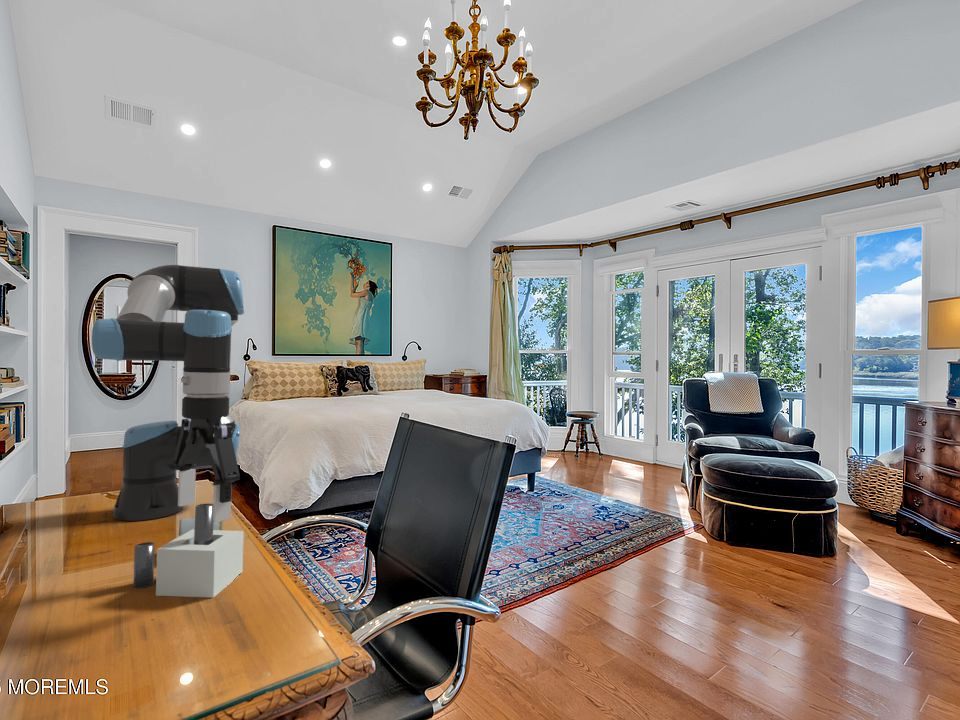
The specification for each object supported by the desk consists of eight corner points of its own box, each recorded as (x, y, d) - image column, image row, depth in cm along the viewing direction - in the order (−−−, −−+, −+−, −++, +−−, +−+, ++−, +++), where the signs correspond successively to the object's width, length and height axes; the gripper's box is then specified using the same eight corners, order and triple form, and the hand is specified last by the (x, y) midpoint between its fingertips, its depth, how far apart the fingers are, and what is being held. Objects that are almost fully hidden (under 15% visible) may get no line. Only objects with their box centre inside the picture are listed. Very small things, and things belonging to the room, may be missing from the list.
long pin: (198, 579, 92) (201, 503, 92) (214, 580, 92) (217, 503, 92) (188, 586, 89) (191, 507, 89) (205, 587, 89) (208, 507, 89)
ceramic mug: (223, 556, 103) (224, 518, 103) (177, 563, 99) (178, 524, 99) (219, 540, 112) (220, 506, 112) (176, 547, 108) (177, 511, 108)
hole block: (191, 571, 95) (192, 529, 95) (242, 572, 95) (243, 531, 95) (155, 595, 85) (157, 549, 85) (213, 597, 85) (214, 550, 85)
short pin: (141, 580, 91) (142, 542, 91) (157, 580, 91) (158, 542, 91) (129, 587, 88) (130, 548, 88) (145, 588, 88) (147, 548, 88)
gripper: (154, 391, 95) (151, 503, 95) (219, 401, 80) (215, 533, 80) (196, 390, 101) (193, 494, 101) (263, 399, 86) (260, 521, 86)
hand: (203, 512), depth 90 cm, fingers open, 13 cm apart
